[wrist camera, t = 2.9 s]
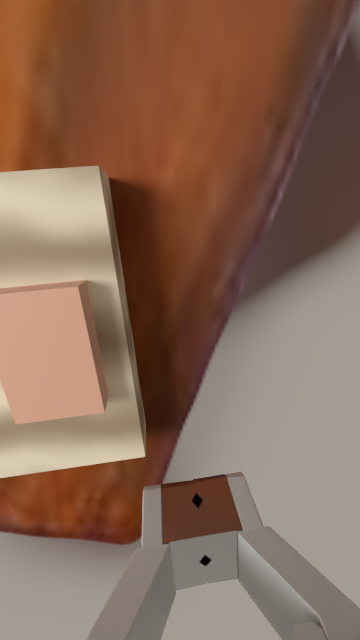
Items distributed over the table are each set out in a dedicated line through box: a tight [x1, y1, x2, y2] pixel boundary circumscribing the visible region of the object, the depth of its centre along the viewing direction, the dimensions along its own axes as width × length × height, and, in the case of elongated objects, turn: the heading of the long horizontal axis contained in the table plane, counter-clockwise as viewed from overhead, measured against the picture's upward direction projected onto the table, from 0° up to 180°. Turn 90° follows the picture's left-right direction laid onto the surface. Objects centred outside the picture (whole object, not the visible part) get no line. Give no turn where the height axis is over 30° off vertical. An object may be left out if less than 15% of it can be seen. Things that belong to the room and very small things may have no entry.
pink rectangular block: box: [0, 280, 109, 424], centre depth 18 cm, size 9×6×2 cm, turn 5°
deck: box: [0, 166, 146, 478], centre depth 21 cm, size 22×14×4 cm, turn 5°
